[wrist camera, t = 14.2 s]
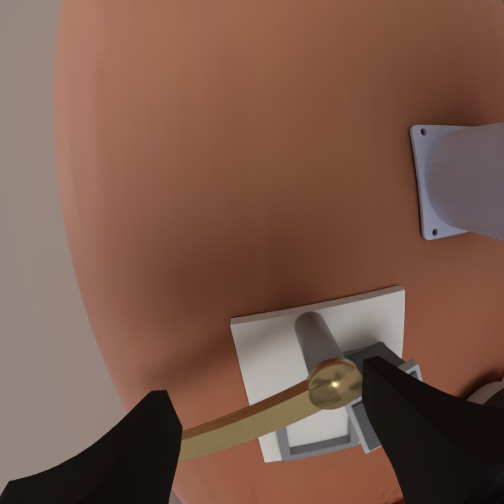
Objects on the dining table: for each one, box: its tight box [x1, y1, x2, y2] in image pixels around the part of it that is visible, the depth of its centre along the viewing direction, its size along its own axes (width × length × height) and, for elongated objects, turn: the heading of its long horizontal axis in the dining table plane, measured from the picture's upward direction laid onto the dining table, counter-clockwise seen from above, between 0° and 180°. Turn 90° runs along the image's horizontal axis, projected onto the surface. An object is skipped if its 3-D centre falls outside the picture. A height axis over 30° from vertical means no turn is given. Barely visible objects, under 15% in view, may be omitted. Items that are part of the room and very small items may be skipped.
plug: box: [345, 341, 423, 454], centre depth 16 cm, size 5×5×6 cm
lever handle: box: [178, 357, 363, 462], centre depth 14 cm, size 3×14×2 cm, turn 121°
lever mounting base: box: [230, 285, 405, 462], centre depth 18 cm, size 12×15×7 cm
